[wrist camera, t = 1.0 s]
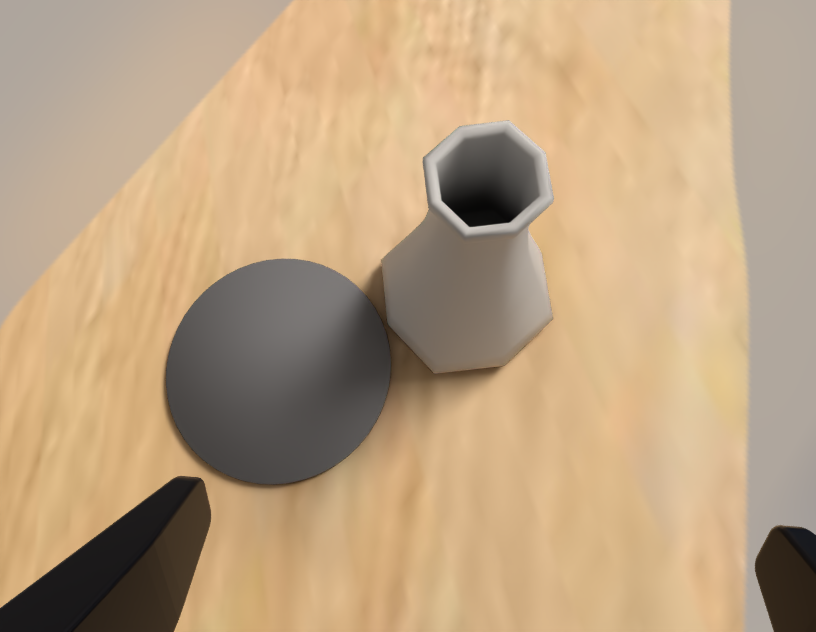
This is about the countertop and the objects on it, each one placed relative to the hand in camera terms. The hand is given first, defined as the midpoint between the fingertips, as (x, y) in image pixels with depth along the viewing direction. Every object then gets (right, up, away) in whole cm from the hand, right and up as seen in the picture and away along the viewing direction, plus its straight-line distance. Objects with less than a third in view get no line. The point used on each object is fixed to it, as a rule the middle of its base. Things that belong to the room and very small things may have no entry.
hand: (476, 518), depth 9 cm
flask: (+1, +4, +14) cm, 15 cm away
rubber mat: (-7, +1, +14) cm, 16 cm away
